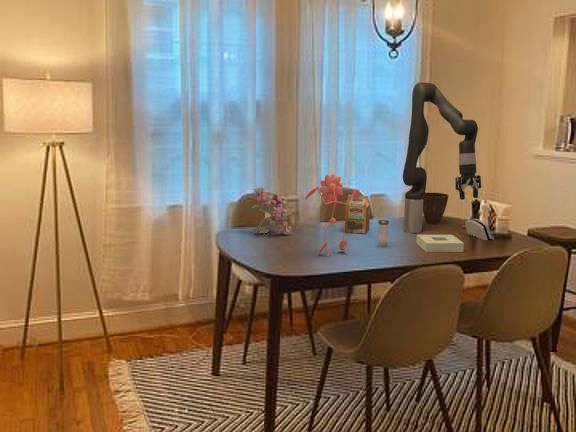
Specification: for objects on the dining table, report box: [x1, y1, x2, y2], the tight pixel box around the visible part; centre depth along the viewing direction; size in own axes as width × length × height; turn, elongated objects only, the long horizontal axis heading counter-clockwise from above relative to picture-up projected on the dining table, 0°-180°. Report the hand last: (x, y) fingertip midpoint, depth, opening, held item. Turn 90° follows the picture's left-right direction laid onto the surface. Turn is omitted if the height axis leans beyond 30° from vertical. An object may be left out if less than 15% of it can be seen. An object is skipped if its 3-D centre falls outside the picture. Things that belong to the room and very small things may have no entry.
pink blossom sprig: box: [304, 173, 362, 257], centre depth 259 cm, size 15×26×35 cm, turn 117°
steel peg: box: [377, 219, 390, 248], centre depth 273 cm, size 5×5×12 cm
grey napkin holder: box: [464, 218, 495, 241], centre depth 295 cm, size 17×5×10 cm, turn 16°
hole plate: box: [416, 234, 465, 253], centre depth 272 cm, size 17×17×4 cm
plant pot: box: [423, 192, 449, 225], centre depth 327 cm, size 15×15×16 cm
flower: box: [251, 186, 294, 236], centre depth 294 cm, size 20×22×25 cm
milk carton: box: [344, 194, 371, 235], centre depth 302 cm, size 11×11×19 cm
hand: (469, 198), depth 272 cm, fingers open, 8 cm apart
